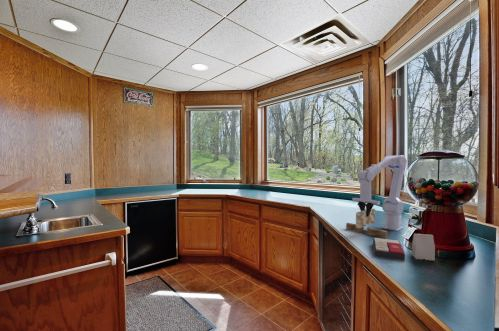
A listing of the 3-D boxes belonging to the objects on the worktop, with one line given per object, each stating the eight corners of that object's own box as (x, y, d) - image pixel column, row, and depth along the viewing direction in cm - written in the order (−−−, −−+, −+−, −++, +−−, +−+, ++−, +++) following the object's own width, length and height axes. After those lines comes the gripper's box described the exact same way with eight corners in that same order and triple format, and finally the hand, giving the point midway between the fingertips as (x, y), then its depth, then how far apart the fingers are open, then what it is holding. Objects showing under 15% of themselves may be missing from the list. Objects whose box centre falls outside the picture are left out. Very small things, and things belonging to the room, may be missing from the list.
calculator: (374, 248, 100) (373, 236, 113) (374, 258, 100) (373, 244, 113) (405, 253, 95) (399, 239, 108) (405, 263, 95) (399, 248, 109)
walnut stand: (346, 228, 139) (346, 223, 139) (348, 228, 140) (348, 222, 140) (385, 238, 121) (385, 232, 121) (387, 237, 123) (387, 231, 123)
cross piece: (371, 221, 137) (371, 208, 137) (374, 222, 135) (374, 208, 135) (355, 227, 126) (355, 212, 126) (359, 228, 124) (359, 213, 124)
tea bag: (434, 260, 95) (434, 236, 95) (415, 258, 97) (415, 235, 97) (430, 257, 98) (431, 233, 98) (412, 255, 100) (412, 232, 100)
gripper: (349, 191, 133) (349, 214, 134) (375, 193, 122) (375, 219, 122) (355, 190, 138) (355, 212, 138) (381, 192, 126) (381, 217, 127)
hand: (365, 215), depth 130 cm, fingers closed on cross piece, 2 cm apart
